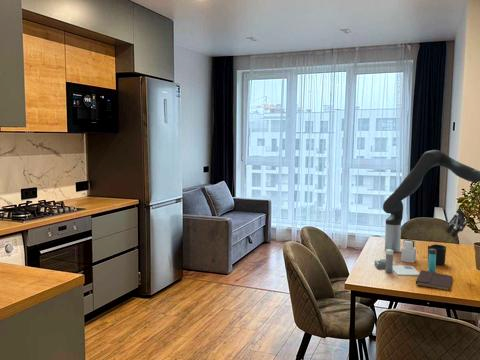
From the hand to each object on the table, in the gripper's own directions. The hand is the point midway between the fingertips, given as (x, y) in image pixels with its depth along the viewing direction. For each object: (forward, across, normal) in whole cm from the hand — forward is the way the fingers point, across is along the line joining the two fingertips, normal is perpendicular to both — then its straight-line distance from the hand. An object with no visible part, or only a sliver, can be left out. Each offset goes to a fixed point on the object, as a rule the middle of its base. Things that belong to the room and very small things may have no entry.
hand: (449, 234), depth 224 cm
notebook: (+23, +19, 0) cm, 30 cm away
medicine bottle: (+26, -20, -3) cm, 33 cm away
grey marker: (+33, +5, -17) cm, 37 cm away
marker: (+22, 0, +3) cm, 22 cm away
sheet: (+29, +2, -9) cm, 30 cm away
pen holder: (+19, -16, +9) cm, 27 cm away
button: (+33, -5, -19) cm, 38 cm away
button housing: (+34, -5, -18) cm, 39 cm away
